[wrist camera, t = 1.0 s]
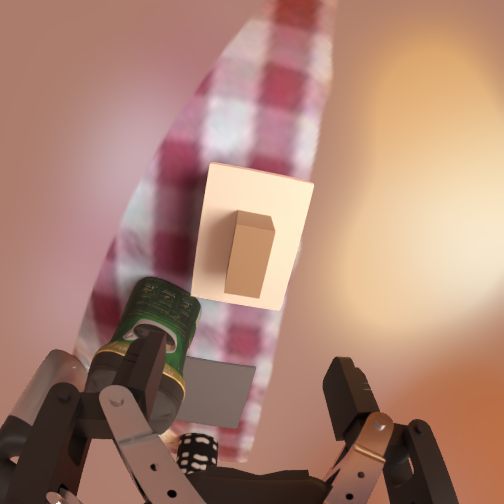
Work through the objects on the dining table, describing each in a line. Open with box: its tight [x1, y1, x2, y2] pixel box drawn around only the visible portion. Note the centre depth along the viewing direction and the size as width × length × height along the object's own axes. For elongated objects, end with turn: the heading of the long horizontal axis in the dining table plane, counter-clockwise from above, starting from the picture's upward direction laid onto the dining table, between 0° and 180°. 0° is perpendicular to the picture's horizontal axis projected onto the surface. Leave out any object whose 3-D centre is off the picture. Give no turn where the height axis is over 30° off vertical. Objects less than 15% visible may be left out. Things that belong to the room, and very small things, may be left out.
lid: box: [191, 162, 314, 311], centre depth 26 cm, size 13×9×6 cm
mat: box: [175, 356, 256, 429], centre depth 44 cm, size 18×15×1 cm
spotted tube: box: [176, 433, 218, 475], centre depth 42 cm, size 8×8×20 cm
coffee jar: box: [85, 277, 201, 435], centre depth 29 cm, size 10×8×19 cm
